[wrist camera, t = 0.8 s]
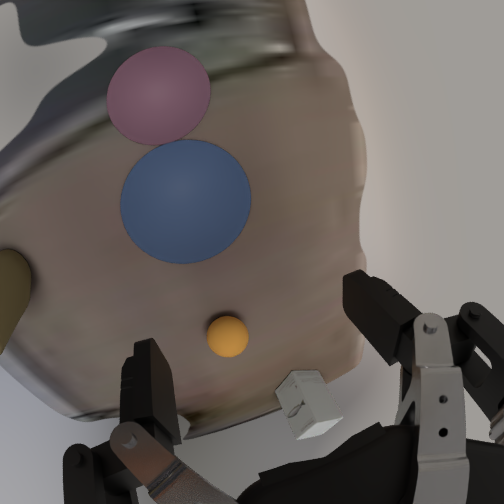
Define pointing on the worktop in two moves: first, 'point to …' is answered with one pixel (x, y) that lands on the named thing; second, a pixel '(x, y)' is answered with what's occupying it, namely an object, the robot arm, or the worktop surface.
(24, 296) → the squeeze bottle
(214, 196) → the disc
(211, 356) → the worktop surface
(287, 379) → the supplement box
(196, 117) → the disc
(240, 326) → the ball
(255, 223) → the worktop surface
